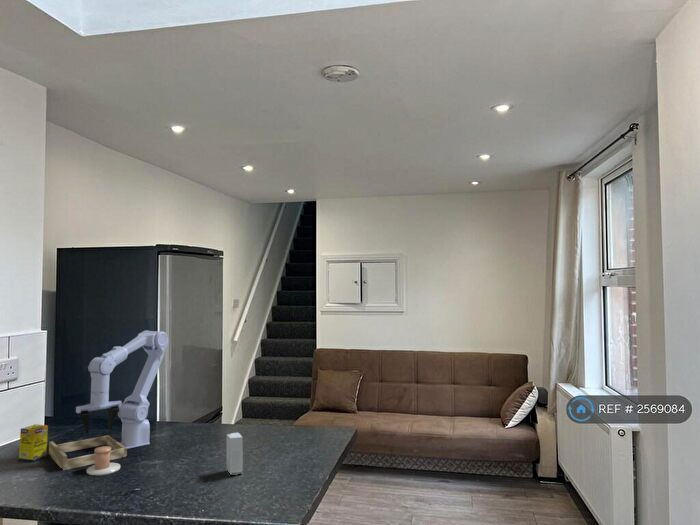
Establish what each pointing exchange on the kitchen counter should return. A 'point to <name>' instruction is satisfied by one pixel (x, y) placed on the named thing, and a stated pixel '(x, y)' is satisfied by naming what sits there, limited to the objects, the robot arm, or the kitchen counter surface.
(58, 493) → the kitchen counter surface
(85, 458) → the frame
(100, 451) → the peach drawer knob
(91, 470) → the saucer
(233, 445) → the skincare box
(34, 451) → the supplement box
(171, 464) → the kitchen counter surface
